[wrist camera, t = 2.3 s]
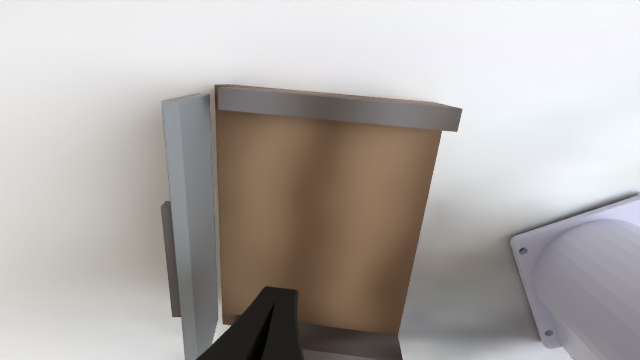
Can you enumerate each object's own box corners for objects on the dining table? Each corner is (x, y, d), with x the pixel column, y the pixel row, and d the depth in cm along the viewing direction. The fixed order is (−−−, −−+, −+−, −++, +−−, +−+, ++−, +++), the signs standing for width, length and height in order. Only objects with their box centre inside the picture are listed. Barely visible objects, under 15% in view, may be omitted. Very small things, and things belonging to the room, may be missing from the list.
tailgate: (209, 94, 16) (178, 102, 11) (218, 318, 20) (199, 390, 16) (185, 92, 15) (143, 99, 11) (200, 318, 20) (176, 391, 16)
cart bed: (435, 102, 17) (462, 108, 13) (391, 323, 22) (400, 374, 18) (229, 84, 17) (196, 85, 13) (233, 303, 22) (210, 348, 19)
